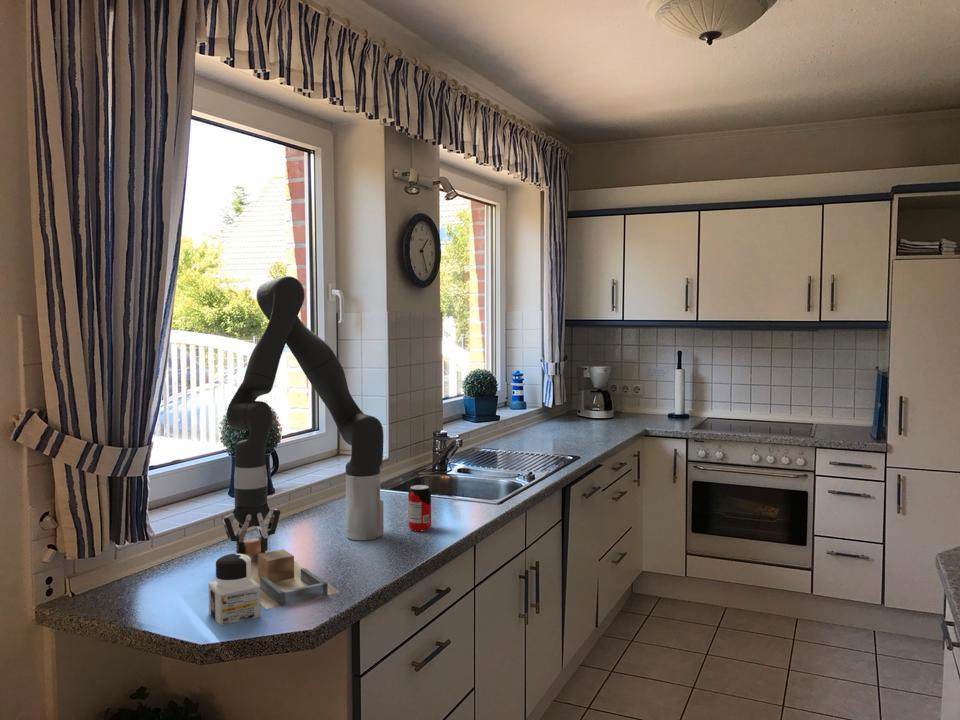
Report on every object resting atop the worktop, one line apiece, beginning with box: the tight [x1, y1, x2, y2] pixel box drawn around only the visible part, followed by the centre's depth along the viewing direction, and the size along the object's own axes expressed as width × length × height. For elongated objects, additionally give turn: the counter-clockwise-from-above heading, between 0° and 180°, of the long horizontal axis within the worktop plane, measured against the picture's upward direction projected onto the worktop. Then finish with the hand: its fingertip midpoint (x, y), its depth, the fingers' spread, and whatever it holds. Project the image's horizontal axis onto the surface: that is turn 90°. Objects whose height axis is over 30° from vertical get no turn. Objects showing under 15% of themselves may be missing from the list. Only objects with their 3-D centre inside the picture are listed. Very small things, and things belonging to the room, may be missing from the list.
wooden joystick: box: [243, 538, 295, 583], centre depth 176 cm, size 6×20×5 cm, turn 36°
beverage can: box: [407, 484, 432, 532], centre depth 214 cm, size 6×6×12 cm
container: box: [208, 553, 261, 626], centre depth 149 cm, size 8×8×13 cm
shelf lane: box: [213, 549, 341, 610], centre depth 171 cm, size 16×36×4 cm, turn 35°
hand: (252, 554), depth 182 cm, fingers open, 4 cm apart
